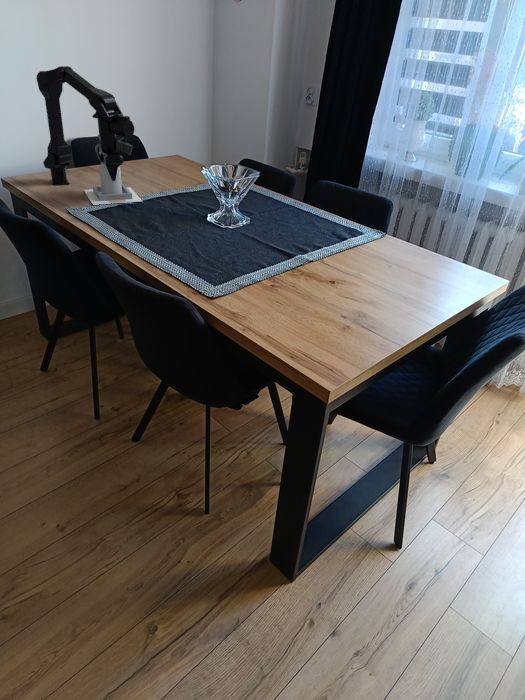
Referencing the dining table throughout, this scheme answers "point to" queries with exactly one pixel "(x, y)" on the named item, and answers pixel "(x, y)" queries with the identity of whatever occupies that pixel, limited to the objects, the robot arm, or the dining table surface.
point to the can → (110, 181)
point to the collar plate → (111, 196)
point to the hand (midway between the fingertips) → (111, 177)
